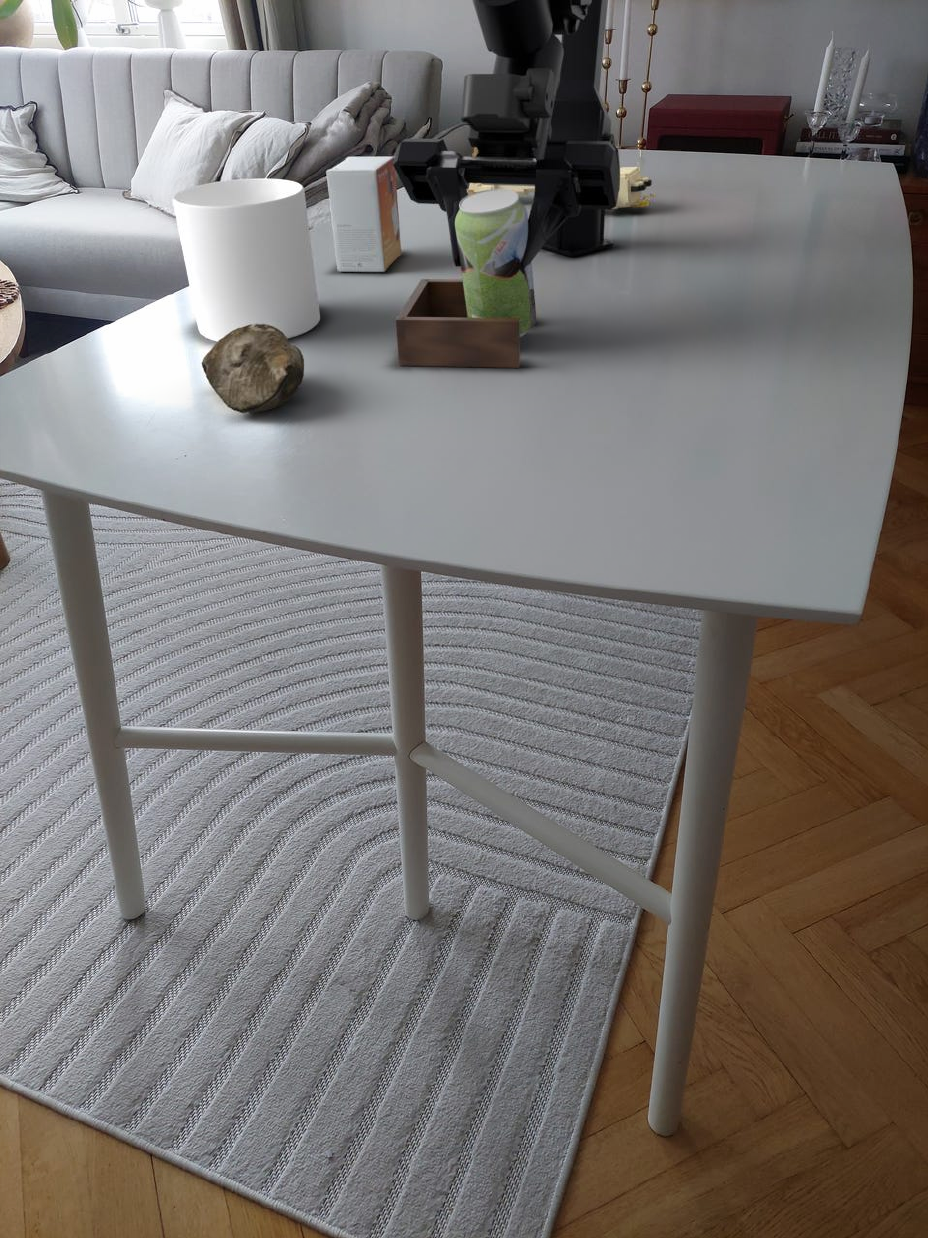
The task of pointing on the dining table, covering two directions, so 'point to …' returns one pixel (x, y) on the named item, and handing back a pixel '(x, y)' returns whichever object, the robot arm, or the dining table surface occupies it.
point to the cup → (248, 255)
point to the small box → (364, 213)
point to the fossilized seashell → (254, 368)
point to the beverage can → (495, 257)
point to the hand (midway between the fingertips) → (488, 265)
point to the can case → (453, 331)
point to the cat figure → (627, 194)
